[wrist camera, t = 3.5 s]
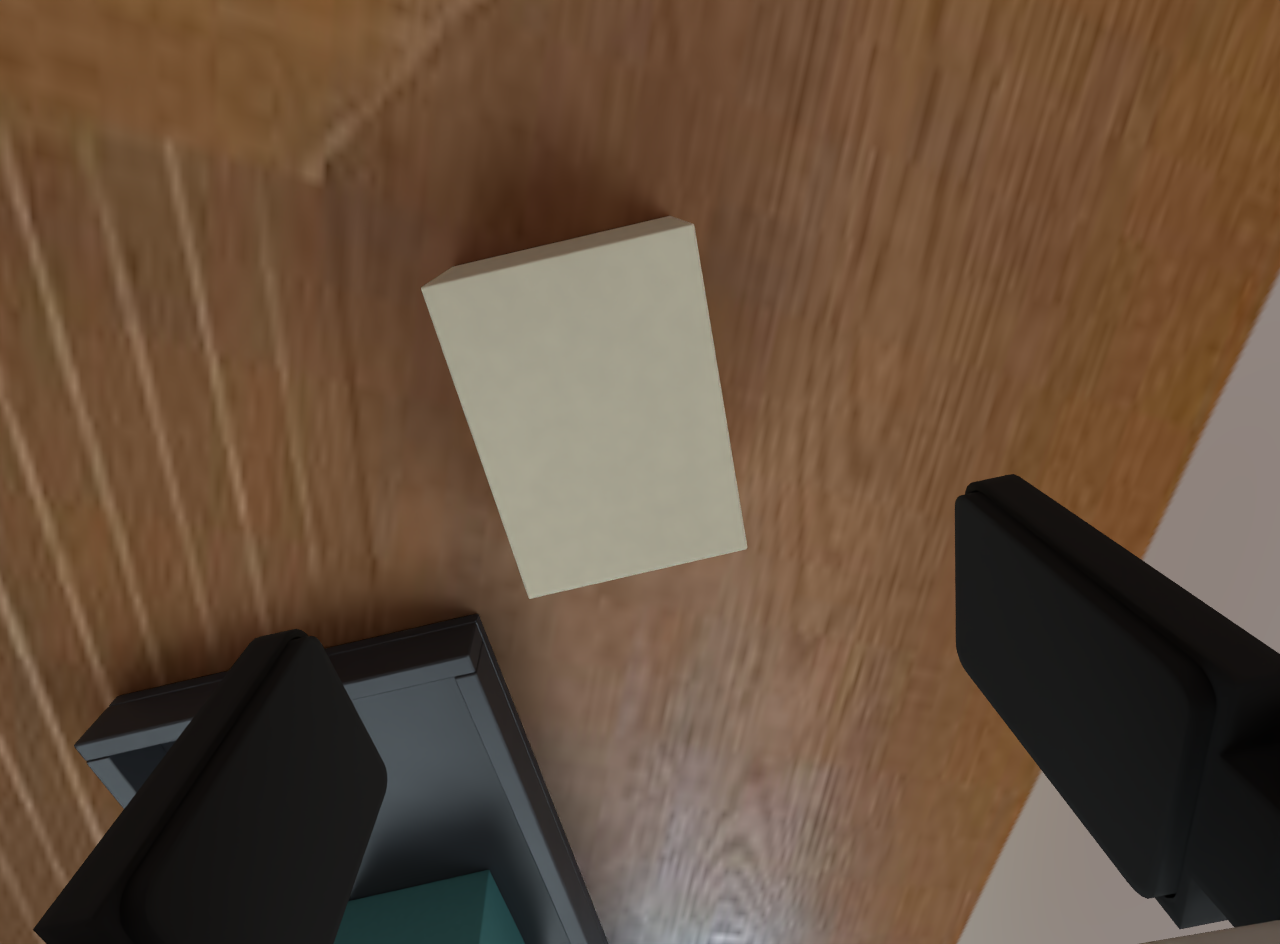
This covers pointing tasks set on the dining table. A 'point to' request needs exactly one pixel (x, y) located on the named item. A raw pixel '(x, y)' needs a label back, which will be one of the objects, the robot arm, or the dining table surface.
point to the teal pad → (432, 915)
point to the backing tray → (411, 772)
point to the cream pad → (594, 402)
